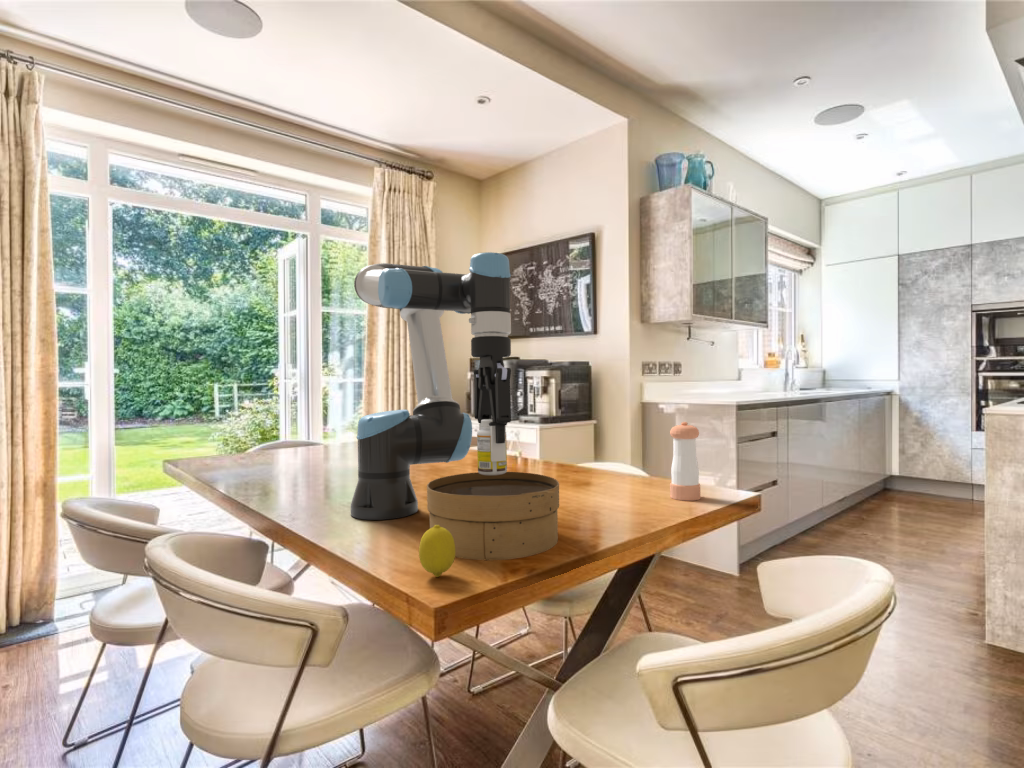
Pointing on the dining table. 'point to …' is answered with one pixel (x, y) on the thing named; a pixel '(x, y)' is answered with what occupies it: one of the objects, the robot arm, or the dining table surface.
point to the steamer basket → (496, 513)
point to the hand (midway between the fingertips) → (492, 458)
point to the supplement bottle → (488, 452)
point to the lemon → (437, 550)
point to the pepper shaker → (684, 463)
